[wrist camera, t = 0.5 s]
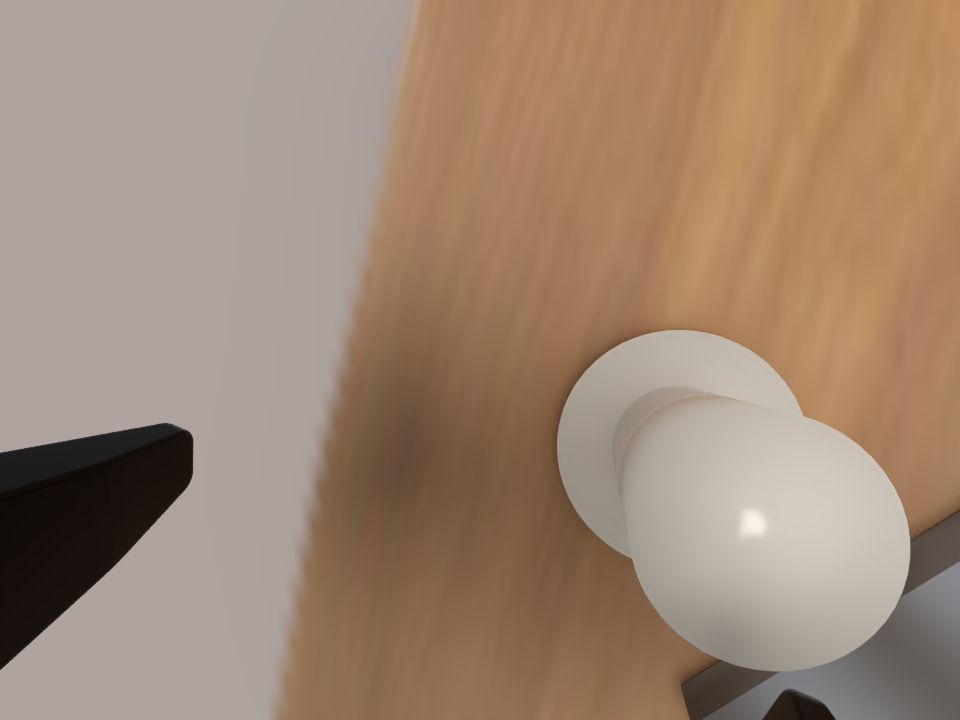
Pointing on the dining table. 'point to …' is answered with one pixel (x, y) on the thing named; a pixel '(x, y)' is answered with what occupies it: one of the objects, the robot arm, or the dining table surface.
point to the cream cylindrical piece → (733, 502)
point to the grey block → (868, 655)
